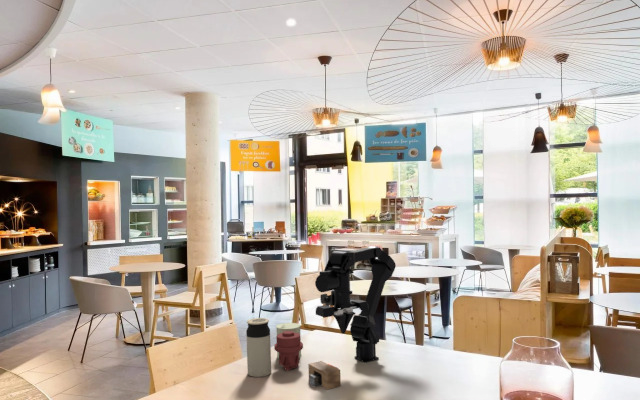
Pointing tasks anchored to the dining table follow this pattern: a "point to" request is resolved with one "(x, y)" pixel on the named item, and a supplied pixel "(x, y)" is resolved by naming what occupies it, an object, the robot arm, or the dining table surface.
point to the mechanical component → (288, 349)
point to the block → (326, 374)
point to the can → (288, 327)
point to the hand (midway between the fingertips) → (343, 333)
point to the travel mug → (258, 347)
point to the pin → (316, 379)
